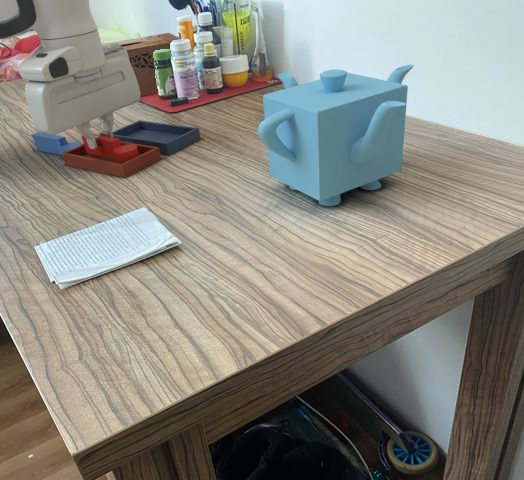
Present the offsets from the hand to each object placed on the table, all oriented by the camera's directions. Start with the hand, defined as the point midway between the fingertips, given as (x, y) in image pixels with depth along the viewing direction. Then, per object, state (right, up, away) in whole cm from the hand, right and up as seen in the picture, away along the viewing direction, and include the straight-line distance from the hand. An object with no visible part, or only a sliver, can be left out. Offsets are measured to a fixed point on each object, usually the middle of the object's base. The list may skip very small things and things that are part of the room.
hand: (101, 144), depth 89 cm
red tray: (+2, -3, +1) cm, 3 cm away
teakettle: (+39, -12, -16) cm, 44 cm away
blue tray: (+8, +3, +7) cm, 11 cm away
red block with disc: (+2, -2, 0) cm, 2 cm away
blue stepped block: (-10, +2, +8) cm, 13 cm away
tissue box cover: (-4, +30, +41) cm, 51 cm away
